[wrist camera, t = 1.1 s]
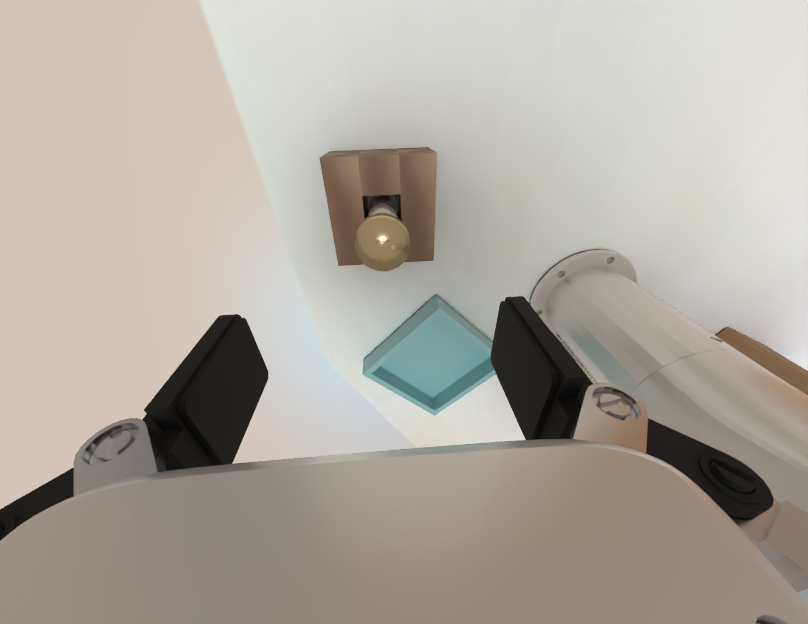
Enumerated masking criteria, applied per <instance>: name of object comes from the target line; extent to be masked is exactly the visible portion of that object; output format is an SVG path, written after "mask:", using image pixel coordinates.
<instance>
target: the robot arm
mask: <svg viewBox="0 0 808 624" xmlns="http://www.w3.org/2000/svg"><path fill="white" fill-rule="evenodd" d="M636 280H637V279H636V272H635V269H634V267H633V265H632V264H631V263H630V262H629V261H628V260H627V259H626V258H624V257H623V256H621V255H620V254H617V253H615V252H613V251H608V250H590V251H585V252H581V253H579V254H576V255H573V256H571V257H569V258H567V259H565V260H563V261H561V262H560V263H559V264H557V265H556V266H555V267H553V268H552V269H551V270H550V271H549V272H548V273H547V274H546V275H545V276H544V277H543V278H542V279H541V281H540V282H539V283H538V285H537V286H536V288H535V290H534V292H533V294H532V297H531V300H530V304H529V303H528V302H527V300H526V299H525V298H524V297H523V296H519V297H507V298H506V299H505V301H502V302H501V303H500V307H499V313H498V318H497V323H496V329H495V334H494V339H493V345H492V350H491V363H492V366H493V368H494V370H495V372H496V374H497V377H498V379H499V381H500V383H501V386H502V388H503V390H504V392H505V395H506V397H507V399H508V401H509V403H510V406H511V408H512V410H513V412H514V415H515V417H516V419H517V421H518V424H519V426H520V428H521V430H522V433H523V435H524V437H525V439H526V440H522V441H505V442H490V443H477V444H464V445H451V446H438V447H425V448H413V449H400V450H388V451H377V452H364V453H352V454H340V455H329V456H316V457H305V458H294V459H282V460H271V461H259V462H248V463H237V464H232V462H233V460H234V458H235V456H236V453H237V451H238V449H239V446H240V444H241V442H242V439H243V437H244V435H245V432H246V430H247V427H248V425H249V423H250V420H251V418H252V416H253V413H254V411H255V409H256V406H257V403H258V402H259V399H260V397H261V394H262V392H263V390H264V387H265V385H266V383H267V380H268V370H267V368H266V365H265V363H264V360H263V358H262V356H261V353H260V351H259V349H258V346H257V344H256V342H255V339H254V337H253V335H252V332H251V330H250V327H249V325H248V323H247V321H246V319H245V318H241V316H240V315H237V314H236V315H222V316H219V317H218V318H217V319H216V320H215V322H214V323H213V324H212V325H211V327H210V328H209V329H208V330H207V332H206V333H205V334H204V336H203V337H202V338H201V339H200V340H199V342H198V343H197V344H196V346H195V347H194V348H193V349H192V350H191V352H190V353H189V354H188V355H187V357H186V358H185V359H184V361H183V362H182V363H181V364H180V365H179V367H178V368H177V369H176V371H175V372H174V373H173V374H172V375H171V377H170V378H169V379H168V381H167V382H166V383H165V384H164V385H163V387H162V388H161V389H160V391H159V392H158V393H157V394H156V395H155V397H154V398H153V399H152V401H151V402H150V403H149V404H148V406H147V407H146V408H145V409H144V411H145V412H146V413H147V415H146V416H145V417H144V418H143V420H141V419H138V418H129V419H125V420H121V421H118V422H116V423H113V424H111V425H109V426H107V427H105V428H104V429H102V430H100V431H99V432H97V433H96V434H95V435H93V436H92V437H91V438H89V439H88V440H87V441H86V442H85V443H84V444H83V445H82V446H81V448H80V449H79V451H78V452H77V454H76V456H75V460H74V468H72V469H70V470H68V471H67V472H65V473H63V474H61V475H60V476H58V477H56V478H54V479H53V480H51V481H49V482H48V483H46V484H44V485H42V486H40V487H39V488H37V489H35V490H34V491H32V492H30V493H28V494H26V495H25V496H23V497H21V498H19V499H18V500H16V501H14V502H12V503H11V504H9V505H7V506H5V507H4V508H2V509H0V624H808V395H806V394H805V393H803V392H801V391H800V390H798V389H797V388H795V387H793V386H792V385H790V384H789V383H787V382H785V381H784V380H782V379H781V378H779V377H777V376H776V375H774V374H773V373H771V372H770V371H768V370H767V369H765V368H764V367H762V366H760V365H759V364H757V363H756V362H754V361H753V360H751V359H750V358H748V357H747V356H745V355H744V354H742V353H741V352H739V351H738V350H736V349H735V348H733V347H732V346H730V345H729V344H727V343H726V342H724V341H723V340H721V339H720V338H718V337H716V336H715V335H713V334H712V333H710V332H709V331H707V330H706V329H704V328H703V327H701V326H700V325H698V324H697V323H695V322H694V321H692V320H691V319H689V318H688V317H686V316H685V315H683V314H682V313H680V312H679V311H677V310H676V309H674V308H673V307H671V306H670V305H668V304H667V303H665V302H664V301H662V300H660V299H659V298H657V297H656V296H654V295H653V294H651V293H650V292H648V291H647V290H645V289H644V288H642V287H641V286H639V285H638V284H636ZM557 338H558V339H563V340H564V341H565V343H566V344H567V345H568V346H569V348H570V349H571V350H572V351H573V353H574V354H575V355H576V356H577V358H578V359H579V360H580V361H581V363H582V364H583V365H584V366H585V367H586V369H587V370H588V371H589V372H590V374H591V375H592V376H593V377H594V379H595V380H596V381H597V382H598V383H594V384H593V383H592V382H591V381H590V379H589V378H588V377H587V375H586V374H585V373H584V372H583V370H582V369H581V368H580V367H579V365H578V364H577V363H576V362H575V360H574V359H573V358H572V357H571V355H570V354H569V353H568V351H567V350H566V349H565V348H564V346H563V345H562V344H561V343H560V341H559V340H558V339H557Z"/></svg>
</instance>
